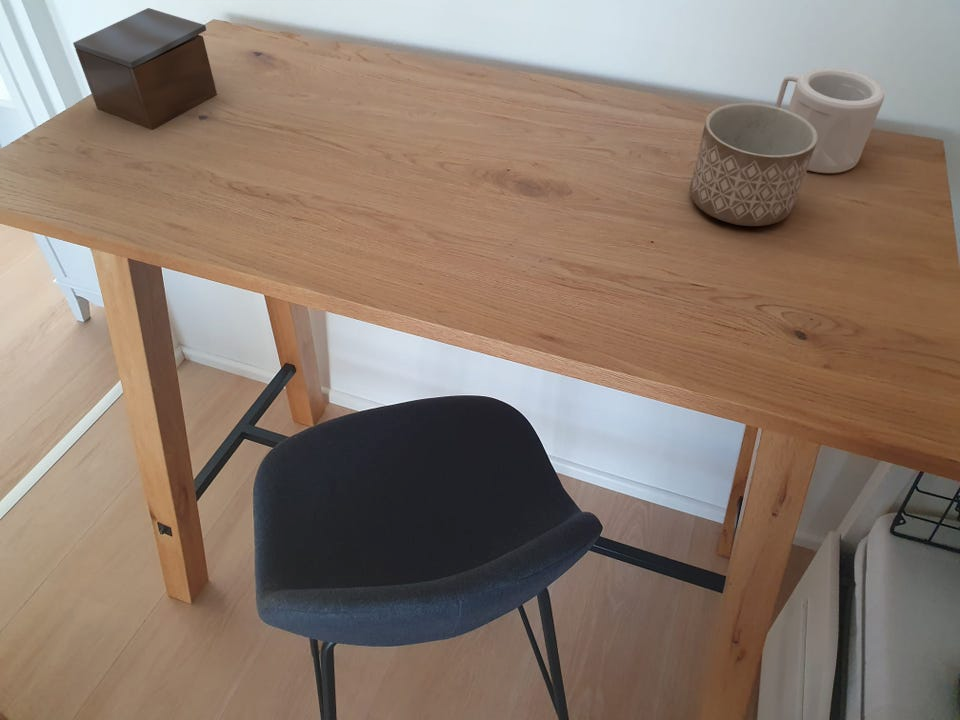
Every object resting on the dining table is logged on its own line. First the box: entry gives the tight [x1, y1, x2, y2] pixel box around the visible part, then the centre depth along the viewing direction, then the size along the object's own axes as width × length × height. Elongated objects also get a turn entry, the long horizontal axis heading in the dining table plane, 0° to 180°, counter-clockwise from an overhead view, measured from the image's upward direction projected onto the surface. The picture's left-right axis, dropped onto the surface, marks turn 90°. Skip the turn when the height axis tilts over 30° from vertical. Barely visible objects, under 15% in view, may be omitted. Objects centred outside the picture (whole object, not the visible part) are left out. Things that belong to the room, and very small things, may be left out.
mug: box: [774, 67, 885, 174], centre depth 102 cm, size 14×11×10 cm
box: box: [74, 34, 218, 130], centre depth 111 cm, size 13×12×9 cm
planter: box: [689, 102, 818, 227], centre depth 93 cm, size 13×13×10 cm
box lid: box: [72, 7, 207, 68], centre depth 107 cm, size 14×12×1 cm
